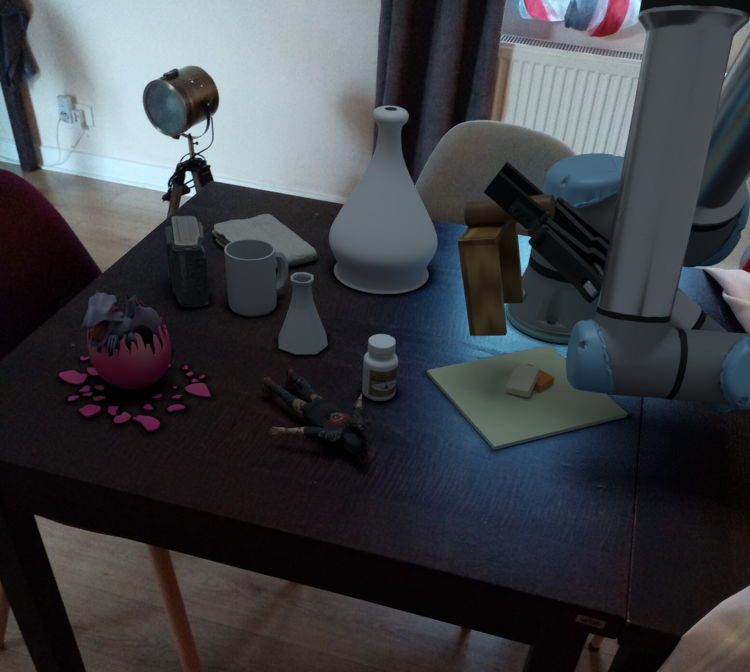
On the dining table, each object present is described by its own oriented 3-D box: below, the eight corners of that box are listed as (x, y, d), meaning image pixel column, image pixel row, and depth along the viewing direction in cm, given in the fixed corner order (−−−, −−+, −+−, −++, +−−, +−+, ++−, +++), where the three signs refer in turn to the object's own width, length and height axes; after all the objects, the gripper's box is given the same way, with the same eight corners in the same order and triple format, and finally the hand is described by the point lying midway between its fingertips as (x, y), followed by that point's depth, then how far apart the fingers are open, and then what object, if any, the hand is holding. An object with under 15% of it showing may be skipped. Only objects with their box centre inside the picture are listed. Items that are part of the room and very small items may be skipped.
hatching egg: (39, 373, 102) (12, 276, 93) (152, 335, 110) (138, 242, 101) (113, 448, 91) (91, 346, 82) (232, 399, 99) (224, 302, 90)
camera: (211, 308, 117) (205, 244, 110) (171, 310, 116) (163, 245, 109) (207, 274, 125) (201, 212, 118) (170, 276, 124) (162, 213, 117)
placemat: (549, 348, 113) (549, 344, 113) (626, 417, 101) (628, 413, 101) (426, 373, 106) (426, 369, 106) (493, 450, 94) (494, 446, 94)
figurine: (320, 342, 101) (418, 412, 89) (321, 381, 105) (415, 453, 93) (228, 372, 95) (321, 452, 83) (233, 413, 98) (322, 495, 86)
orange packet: (528, 363, 106) (527, 370, 107) (514, 371, 104) (512, 379, 105) (555, 376, 104) (553, 384, 105) (540, 385, 102) (539, 393, 103)
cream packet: (539, 367, 102) (540, 373, 103) (516, 362, 104) (516, 369, 105) (528, 391, 100) (529, 397, 101) (505, 386, 102) (505, 393, 103)
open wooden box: (490, 301, 103) (566, 299, 99) (469, 336, 96) (551, 335, 92) (477, 188, 95) (560, 180, 91) (453, 216, 88) (542, 209, 84)
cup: (219, 302, 118) (214, 245, 112) (275, 286, 123) (273, 230, 117) (245, 322, 114) (241, 264, 108) (301, 304, 119) (300, 248, 113)
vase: (315, 287, 123) (315, 117, 107) (344, 243, 136) (348, 86, 120) (423, 304, 121) (440, 133, 104) (442, 258, 134) (460, 99, 117)
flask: (321, 360, 107) (321, 293, 101) (270, 352, 108) (267, 285, 102) (333, 334, 113) (335, 269, 106) (285, 327, 114) (283, 262, 107)
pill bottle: (371, 405, 100) (374, 352, 95) (356, 387, 103) (358, 335, 98) (401, 397, 102) (406, 345, 96) (385, 380, 104) (389, 329, 99)
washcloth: (268, 224, 141) (267, 207, 139) (320, 263, 130) (321, 245, 128) (207, 237, 135) (205, 219, 133) (257, 278, 125) (256, 260, 123)
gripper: (616, 362, 88) (456, 226, 85) (633, 302, 100) (492, 180, 97) (667, 317, 83) (498, 171, 80) (679, 259, 94) (531, 129, 91)
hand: (495, 176), depth 88 cm, fingers closed on open wooden box, 3 cm apart
